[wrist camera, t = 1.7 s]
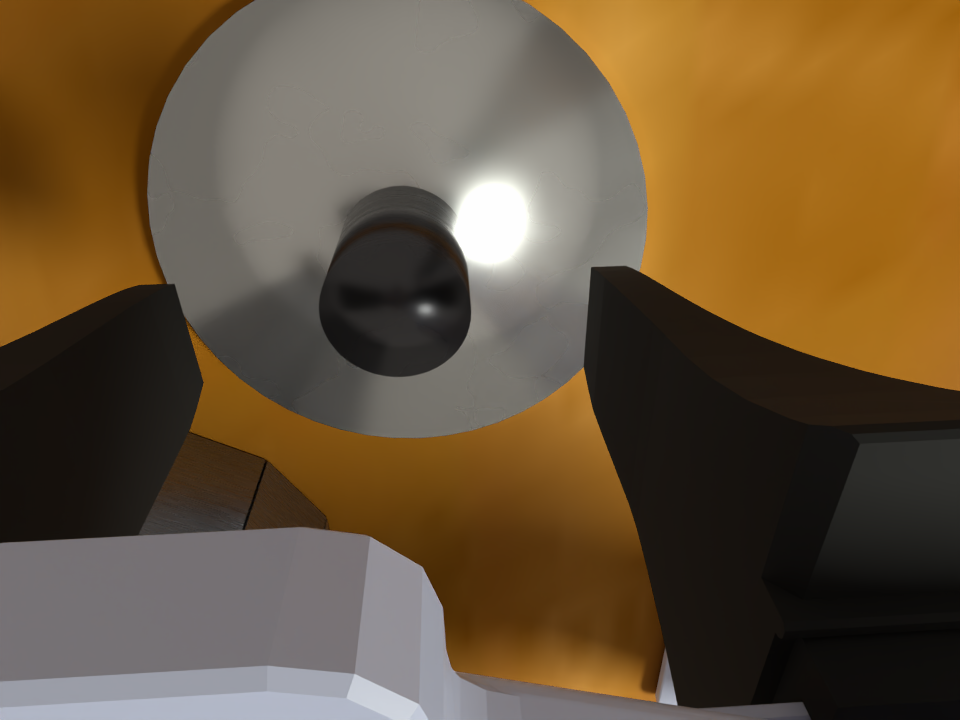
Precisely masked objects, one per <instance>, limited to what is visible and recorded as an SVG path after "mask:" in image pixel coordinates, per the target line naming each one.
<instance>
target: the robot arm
mask: <svg viewBox="0 0 960 720" xmlns="http://www.w3.org/2000/svg"><path fill="white" fill-rule="evenodd" d="M584 370H585V375H586V380H587V385H588V390H589V394H590V398H591V403H592V407H593V411H594V413H595V416H596V419H597V422H598V424H599V427H600V430H601V432H602V435H603V438H604V440H605V443H606V445H607V448H608V451H609V453H610V456H611V458H612V461H613V464H614V466H615V469H616V471H617V474H618V477H619V479H620V482H621V484H622V487H623V490H624V492H625V495H626V497H627V500H628V503H629V505H630V508H631V511H632V515H633V518H634V521H635V524H636V527H637V531H638V535H639V539H640V542H641V546H642V550H643V554H644V558H645V562H646V566H647V570H648V574H649V578H650V582H651V587H652V591H653V595H654V600H655V604H656V608H657V612H658V617H659V621H660V625H661V629H662V634H663V639H664V644H665V651H664V656H663V661H662V666H661V670H660V675H659V680H658V685H657V690H656V694H655V697H656V701H657V702H651V701H645V700H638V699H632V698H625V697H619V696H612V695H606V694H599V693H593V692H586V691H580V690H573V689H567V688H560V687H554V686H547V685H541V684H534V683H528V682H521V681H515V680H508V679H502V678H495V677H489V676H482V675H476V674H469V673H463V672H456V671H454V670H453V669H452V668H451V665H450V661H449V658H448V655H447V651H446V641H445V628H444V615H443V607H442V605H441V603H440V601H439V599H438V597H437V595H436V593H435V591H434V589H433V587H432V585H431V583H430V581H429V579H428V577H427V575H426V573H425V571H424V569H423V567H422V566H420V565H418V564H416V563H415V562H413V561H411V560H410V559H408V558H406V557H404V556H403V555H401V554H399V553H398V552H396V551H394V550H392V549H391V548H389V547H387V546H386V545H384V544H382V543H380V542H379V541H377V540H375V539H374V538H372V537H370V536H367V535H363V534H355V533H347V532H340V531H332V530H324V529H317V528H309V527H293V528H274V529H255V530H236V531H217V532H198V533H179V534H160V535H141V536H138V535H139V533H140V530H141V528H142V526H143V524H144V522H145V520H146V518H147V516H148V514H149V512H150V510H151V508H152V506H153V504H154V502H155V500H156V498H157V496H158V494H159V492H160V490H161V488H162V486H163V484H164V482H165V480H166V478H167V476H168V474H169V472H170V470H171V468H172V466H173V464H174V462H175V459H176V457H177V455H178V453H179V451H180V449H181V447H182V445H183V443H184V441H185V439H186V436H187V434H188V432H189V430H190V427H191V424H192V421H193V418H194V415H195V412H196V409H197V405H198V401H199V398H200V394H201V390H202V387H203V383H204V382H203V379H202V376H201V372H200V369H199V365H198V362H197V358H196V355H195V352H194V348H193V345H192V341H191V338H190V335H189V331H188V328H187V324H186V321H185V317H184V314H183V311H182V307H181V304H180V300H179V297H178V294H177V290H176V287H175V284H155V285H138V286H134V287H131V288H128V289H125V290H122V291H120V292H117V293H115V294H112V295H110V296H108V297H105V298H103V299H101V300H99V301H97V302H95V303H93V304H90V305H88V306H86V307H84V308H82V309H80V310H78V311H76V312H74V313H72V314H70V315H68V316H66V317H64V318H62V319H60V320H58V321H55V322H53V323H51V324H49V325H47V326H45V327H43V328H41V329H39V330H37V331H35V332H33V333H31V334H28V335H26V336H24V337H22V338H20V339H17V340H15V341H13V342H11V343H9V344H6V345H4V346H2V347H0V720H960V391H956V390H950V389H944V388H938V387H933V386H929V385H924V384H919V383H914V382H909V381H905V380H900V379H895V378H890V377H886V376H882V375H878V374H874V373H870V372H866V371H862V370H858V369H855V368H851V367H848V366H844V365H841V364H838V363H834V362H831V361H827V360H824V359H821V358H817V357H814V356H811V355H808V354H805V353H802V352H800V351H797V350H794V349H791V348H789V347H786V346H784V345H781V344H779V343H776V342H773V341H771V340H768V339H766V338H763V337H761V336H758V335H756V334H754V333H752V332H749V331H747V330H745V329H743V328H741V327H739V326H737V325H734V324H732V323H730V322H728V321H726V320H724V319H722V318H720V317H718V316H716V315H714V314H712V313H711V312H709V311H707V310H705V309H703V308H701V307H699V306H698V305H696V304H694V303H692V302H691V301H689V300H687V299H685V298H684V297H682V296H680V295H678V294H677V293H675V292H673V291H672V290H670V289H668V288H666V287H665V286H663V285H661V284H660V283H658V282H656V281H655V280H653V279H651V278H650V277H648V276H646V275H644V274H642V273H641V272H639V271H637V270H635V269H633V268H631V267H628V266H604V267H591V274H590V288H589V301H588V314H587V327H586V340H585V353H584Z"/></svg>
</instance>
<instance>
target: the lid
mask: <svg viewBox="0 0 960 720" xmlns="http://www.w3.org/2000/svg"><path fill="white" fill-rule="evenodd" d="M147 196H148V208H149V220H150V228H151V232H152V236H153V241H154V245H155V250H156V254H157V257H158V260H159V263H160V266H161V268H162V271H163V274H164V276H165V279H166V282H167V284H175V287H176V290H177V294H178V297H179V300H180V304H181V307H182V311H183V314H184V316H185V317H186V319H187V320H188V322H189V323H190V325H191V326H192V327H193V329H194V330H195V332H196V333H197V335H198V336H199V337H200V339H201V340H202V341H203V342H204V343H205V344H206V345H207V346H208V348H209V349H210V350H211V351H212V352H213V353H214V354H215V356H216V357H217V358H218V359H219V360H220V361H221V362H222V363H224V364H225V365H226V366H227V367H228V368H229V369H230V370H231V371H232V372H233V373H235V374H236V375H237V376H238V377H239V378H240V379H241V380H243V381H244V382H246V383H247V384H248V385H250V386H251V387H252V388H254V389H255V390H257V391H258V392H259V393H261V394H262V395H264V396H265V397H267V398H269V399H271V400H272V401H274V402H276V403H278V404H279V405H281V406H283V407H285V408H286V409H288V410H290V411H293V412H295V413H297V414H299V415H302V416H304V417H306V418H309V419H311V420H313V421H316V422H319V423H322V424H325V425H328V426H331V427H335V428H338V429H341V430H346V431H351V432H355V433H360V434H365V435H372V436H381V437H391V438H425V437H436V436H446V435H451V434H456V433H461V432H466V431H471V430H475V429H478V428H481V427H485V426H488V425H491V424H494V423H497V422H500V421H502V420H504V419H507V418H509V417H511V416H513V415H516V414H518V413H520V412H523V411H524V410H526V409H528V408H530V407H531V406H533V405H535V404H536V403H538V402H540V401H542V400H543V399H545V398H547V397H548V396H549V395H551V394H552V393H553V392H555V391H556V390H557V389H559V388H560V387H561V386H563V385H564V384H565V383H567V382H568V381H569V380H570V379H571V378H572V377H573V376H574V375H575V374H576V373H578V372H579V371H580V370H581V369H582V368H583V367H584V353H585V340H586V327H587V314H588V301H589V288H590V274H591V267H604V266H628V267H631V268H633V269H635V270H637V271H639V270H640V267H641V262H642V256H643V251H644V246H645V241H646V228H647V209H648V207H647V195H646V184H645V175H644V170H643V166H642V162H641V157H640V153H639V148H638V144H637V142H636V139H635V136H634V134H633V131H632V129H631V126H630V123H629V121H628V118H627V115H626V113H625V111H624V109H623V108H622V106H621V104H620V102H619V100H618V98H617V97H616V95H615V93H614V91H613V89H612V88H611V86H610V84H609V82H608V81H607V80H606V78H605V77H604V76H603V74H602V73H601V72H600V70H599V69H598V68H597V66H596V65H595V64H594V62H593V61H592V60H591V59H590V57H589V56H588V55H587V53H586V52H585V51H584V50H583V49H582V48H581V47H580V46H579V45H578V44H577V43H575V42H574V41H573V40H572V39H571V38H570V37H569V36H568V35H567V34H566V33H565V32H564V31H563V30H562V29H561V28H560V27H559V26H558V25H556V24H555V23H554V22H552V21H551V20H550V19H548V18H547V17H545V16H544V15H543V14H541V13H540V12H539V11H537V10H536V9H535V8H533V7H532V6H531V5H529V4H528V3H526V2H524V1H522V0H255V1H253V2H251V3H250V4H248V5H247V6H245V7H244V8H242V9H241V10H239V11H237V12H236V13H235V14H234V15H232V16H231V17H230V18H229V19H228V20H227V21H226V22H225V23H224V24H222V25H221V26H220V27H219V28H218V29H217V30H216V31H215V32H213V33H212V34H211V35H210V36H209V37H208V38H207V39H206V41H205V42H204V43H203V44H202V46H201V47H200V48H199V49H198V50H197V52H196V53H195V54H194V55H193V57H192V58H191V59H190V60H189V62H188V63H187V64H186V65H185V67H184V69H183V71H182V72H181V74H180V76H179V78H178V79H177V81H176V83H175V85H174V86H173V88H172V90H171V92H170V93H169V95H168V98H167V100H166V103H165V105H164V108H163V111H162V113H161V116H160V119H159V121H158V124H157V126H156V130H155V135H154V140H153V144H152V149H151V154H150V159H149V171H148V188H147Z"/></svg>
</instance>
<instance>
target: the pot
mask: <svg viewBox="0 0 960 720" xmlns="http://www.w3.org/2000/svg"><path fill="white" fill-rule="evenodd" d="M293 527H309V528H317V529H324V530H329V525H328V520H327V519H326V516H325V515H324V514H323V513H322V512H321V511H320V510H318V509H317V508H316V507H315V506H314V505H313V504H312V503H311V502H310V501H309V500H308V499H307V498H306V497H305V496H304V495H303V494H302V493H301V492H300V491H299V490H298V489H297V488H295V487H294V486H293V485H292V484H291V483H290V482H289V481H288V480H287V479H286V478H285V477H284V476H283V475H282V474H281V473H280V472H279V471H278V470H277V469H276V468H275V467H274V466H272V465H271V464H270V463H269V462H268V461H267V462H265V459H262V458H259V457H256V456H254V455H251V454H248V453H245V452H242V451H240V450H237V449H234V448H231V447H228V446H225V445H223V444H220V443H217V442H214V441H211V440H208V439H206V438H203V437H200V436H197V435H194V434H191V433H189V432H188V434H187V436H186V439H185V441H184V443H183V445H182V447H181V449H180V451H179V453H178V455H177V457H176V459H175V462H174V464H173V466H172V468H171V470H170V472H169V474H168V476H167V478H166V480H165V482H164V484H163V486H162V488H161V490H160V492H159V494H158V496H157V498H156V500H155V502H154V504H153V506H152V508H151V510H150V512H149V514H148V516H147V518H146V520H145V522H144V524H143V526H142V528H141V530H140V533H139V535H138V536H141V535H160V534H179V533H198V532H217V531H236V530H255V529H274V528H293Z"/></svg>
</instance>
